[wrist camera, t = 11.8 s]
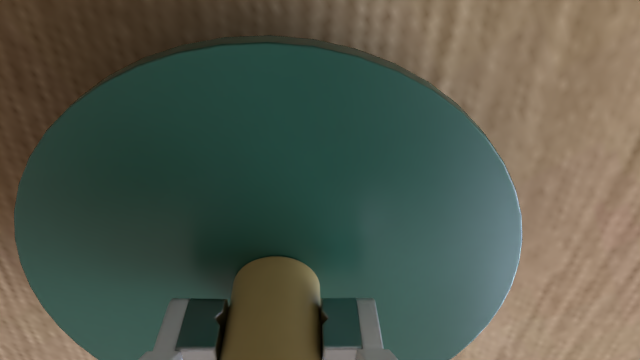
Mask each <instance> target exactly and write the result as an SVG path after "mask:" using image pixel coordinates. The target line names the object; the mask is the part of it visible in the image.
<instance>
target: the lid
mask: <svg viewBox="0 0 640 360" xmlns="http://www.w3.org/2000/svg"><path fill="white" fill-rule="evenodd" d="M14 225H15V241H16V245H17V250H18V254H19V258H20V263H21V265H22V268H23V270H24V273H25V275H26V277H27V280H28V282H29V285H30V287H31V288H32V290H33V292H34V293H35V295H36V296H37V298H38V300H39V301H40V303H41V305H42V306H43V308H44V309H45V310H46V311H47V313H48V314H49V315H50V316H51V317H52V319H53V320H54V321H55V322H56V323H57V325H58V326H59V327H60V328H61V329H62V330H63V331H64V332H65V333H66V334H67V335H68V336H70V337H71V338H72V339H73V340H74V341H75V342H76V343H77V344H78V345H80V346H81V347H82V348H83V349H85V350H86V351H87V352H89V353H90V354H91V355H93V356H94V357H95V358H97V359H98V360H138V359H139V358H140V357H141V356H142V355H144V354H145V353H146V352H147V351H153V349H154V346H155V343H156V340H157V337H158V334H159V331H160V328H161V325H162V322H163V319H164V316H165V313H166V310H167V307H168V304H169V302H170V301H171V299H172V298H199V299H228V305H229V310H228V315H227V321H226V326H225V332H224V337H223V343H222V348H221V354H220V359H219V360H322V347H321V337H322V330H321V321H320V300H321V298H355V299H356V298H374V300H375V303H376V309H377V314H378V320H379V326H380V331H381V337H382V342H383V348H384V349H389V350H390V351H391V352H392V353H393V354H394V355H395V357H396V358H397V359H398V360H450V359H451V358H453V357H454V356H456V355H457V354H458V353H459V352H460V351H461V350H463V349H464V348H465V347H466V346H467V345H468V344H470V343H471V342H472V341H473V340H474V339H475V338H476V337H477V336H478V335H479V334H480V333H481V331H482V330H483V329H484V328H485V327H486V326H487V325H488V324H489V322H490V321H491V320H492V318H493V317H494V315H495V314H496V313H497V311H498V310H499V308H500V307H501V305H502V304H503V302H504V300H505V298H506V296H507V294H508V292H509V290H510V288H511V286H512V283H513V280H514V277H515V274H516V271H517V268H518V265H519V260H520V253H521V246H522V219H521V211H520V206H519V202H518V198H517V193H516V189H515V186H514V184H513V182H512V180H511V177H510V175H509V173H508V171H507V168H506V166H505V164H504V162H503V160H502V159H501V157H500V156H499V154H498V153H497V151H496V150H495V148H494V147H493V145H492V144H491V142H490V141H489V140H488V138H487V137H486V135H485V134H484V133H483V131H482V130H481V129H480V127H479V126H478V125H477V124H476V123H475V122H474V121H473V120H472V119H471V118H470V117H469V116H468V115H467V114H466V113H465V112H464V111H463V110H462V109H461V107H460V106H459V105H458V104H457V103H455V102H454V101H453V100H451V99H450V98H449V97H447V96H446V95H445V94H444V93H442V92H441V91H440V90H438V89H437V88H436V87H434V86H433V85H432V84H430V83H429V82H428V81H426V80H424V79H422V78H420V77H418V76H417V75H415V74H413V73H411V72H409V71H407V70H406V69H404V68H402V67H400V66H398V65H396V64H395V63H392V62H390V61H387V60H384V59H382V58H379V57H376V56H374V55H371V54H368V53H366V52H363V51H360V50H358V49H354V48H350V47H346V46H341V45H337V44H332V43H328V42H324V41H319V40H315V39H306V38H295V37H284V36H273V35H264V36H240V37H224V38H218V39H213V40H207V41H201V42H196V43H190V44H185V45H181V46H178V47H175V48H172V49H169V50H166V51H163V52H160V53H157V54H154V55H151V56H148V57H145V58H143V59H141V60H139V61H137V62H135V63H133V64H131V65H129V66H127V67H125V68H123V69H121V70H119V71H117V72H115V73H113V74H111V75H109V76H108V77H106V78H105V79H104V80H102V81H101V82H100V83H98V84H97V85H96V86H94V87H93V88H91V89H90V90H89V91H87V92H86V93H85V94H83V95H82V96H81V97H79V98H78V99H77V100H76V101H75V102H74V103H73V104H72V105H70V106H69V107H68V109H67V110H66V111H65V112H64V113H63V114H62V115H61V116H60V117H59V118H58V119H57V120H56V121H55V122H54V123H53V124H52V125H51V126H50V127H49V128H48V129H47V130H46V132H45V134H44V135H43V137H42V138H41V140H40V141H39V143H38V144H37V146H36V148H35V149H34V151H33V152H32V154H31V155H30V157H29V159H28V162H27V164H26V167H25V170H24V172H23V175H22V177H21V180H20V182H19V186H18V192H17V198H16V204H15V210H14Z"/></svg>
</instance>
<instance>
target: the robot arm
mask: <svg viewBox="0 0 640 360" xmlns="http://www.w3.org/2000/svg"><path fill="white" fill-rule="evenodd" d="M228 310H229V305H228V299H199V298H172V299H171V301H170V302H169V304H168V307H167V310H166V313H165V316H164V319H163V322H162V325H161V328H160V331H159V334H158V337H157V340H156V343H155V346H154V349H153V351H147V352H146V353H145V354H144V355H142V356H141V357H140V358H139V359H138V360H219V359H220V354H221V348H222V343H223V337H224V332H225V326H226V321H227V315H228ZM320 321H321V330H322V337H321V347H322V360H398V359H397V358H396V357H395V355H394V354H393V353H392V352H391V351H390V350H389V349H384V348H383V342H382V337H381V331H380V326H379V320H378V314H377V309H376V303H375V300H374V298H356V299H355V298H321V300H320Z"/></svg>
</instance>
